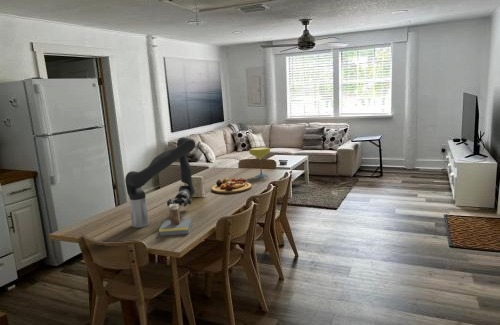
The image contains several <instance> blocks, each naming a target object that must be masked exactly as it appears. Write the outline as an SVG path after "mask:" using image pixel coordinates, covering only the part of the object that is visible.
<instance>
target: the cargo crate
mask: <svg viewBox="0 0 500 325" xmlns="http://www.w3.org/2000/svg"><path fill="white" fill-rule="evenodd" d="M179 206H180V205H179V204H173V203H172V204H170V206H168V209H169V210H168V211H169V217H170V219H169V220H171V225H179V224H180V222H181V221H180V219H181V215H180V207H179Z"/></svg>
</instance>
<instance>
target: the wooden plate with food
mask: <svg viewBox="0 0 500 325" xmlns="http://www.w3.org/2000/svg"><path fill="white" fill-rule="evenodd" d="M251 189H252V184H251V183H249V182H246V179H245V177H244V178H242V177H240V178H239V179H238V178H235V177H233V178H231V180H230V178H228V177H225V178H224V179H220V178H219V179H217V181H216V184H214V185H212V186H211V191H212V192H213V193H218V194H236V193H243V192H246V191H249V190H251Z"/></svg>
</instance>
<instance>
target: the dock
mask: <svg viewBox="0 0 500 325" xmlns="http://www.w3.org/2000/svg"><path fill="white" fill-rule="evenodd" d="M180 221H181V222H180V224H179V225H171V220H170V219H167V220H164V221H163V222H162V224H161V225H160V227H159V228H158V229H159V230H158V232H159V236H161V237H163V236H176V235H178V236H179V235H189V234H190V232H191V230H192V227H193V219H192V218H180Z"/></svg>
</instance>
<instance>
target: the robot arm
mask: <svg viewBox="0 0 500 325" xmlns="http://www.w3.org/2000/svg"><path fill="white" fill-rule="evenodd" d="M195 148H196V141H195V140H194V139H193V138H191V137H184V136H183V137H180V138H178V139H177V142H176V147H174V148H172V149H168V150H164V151H162V152H161V153H160V154H158V155H157V156H155V157H154V158H153V159H152V161H151V162H150V164H148V166H147V167H145V168H143V169H142V170H140V171H133V170H132V171H129V172H128V173H126V176H125V179H124V180H125V187H126V192H127V195H128V199H129V204H130V210H131V211H130V220H131V227H132V228H137V229H138V228H144V227H147V226H149V225H150V219H149V213H148V211H149V210H148V204H147V203H148V202H147V199H146V198H147V197H146V192H145V191H144V190H143V188H142V187H144V186H145V185H146V184H147V183H148V182H149V181H150V180H151V179H152V178H153V179H154V177H155V176H157V175H158V174H160V173H161V172H162V171H164V170H165V169H167V168H168V167H170V166H171V165H172V164H173V163H175V162H177V161H179V166H180V182H181V183H184V184H187V185H181V186H179V188H178V192H177V194H176V195H175V198H174V199H170V198H169V199H168V200H167V201H166V204H167V207H169V206H170V204H179V206H183V207H184V208H185V207H186V206H188V205H191V204H192V196H194V194H195V191H196V190H195V186H194V185H193V181H192V180H193V179H192V168H191V164H190V162H189V160H188V156H187V154H189V153H191V152H192V151H194V149H195Z"/></svg>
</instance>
